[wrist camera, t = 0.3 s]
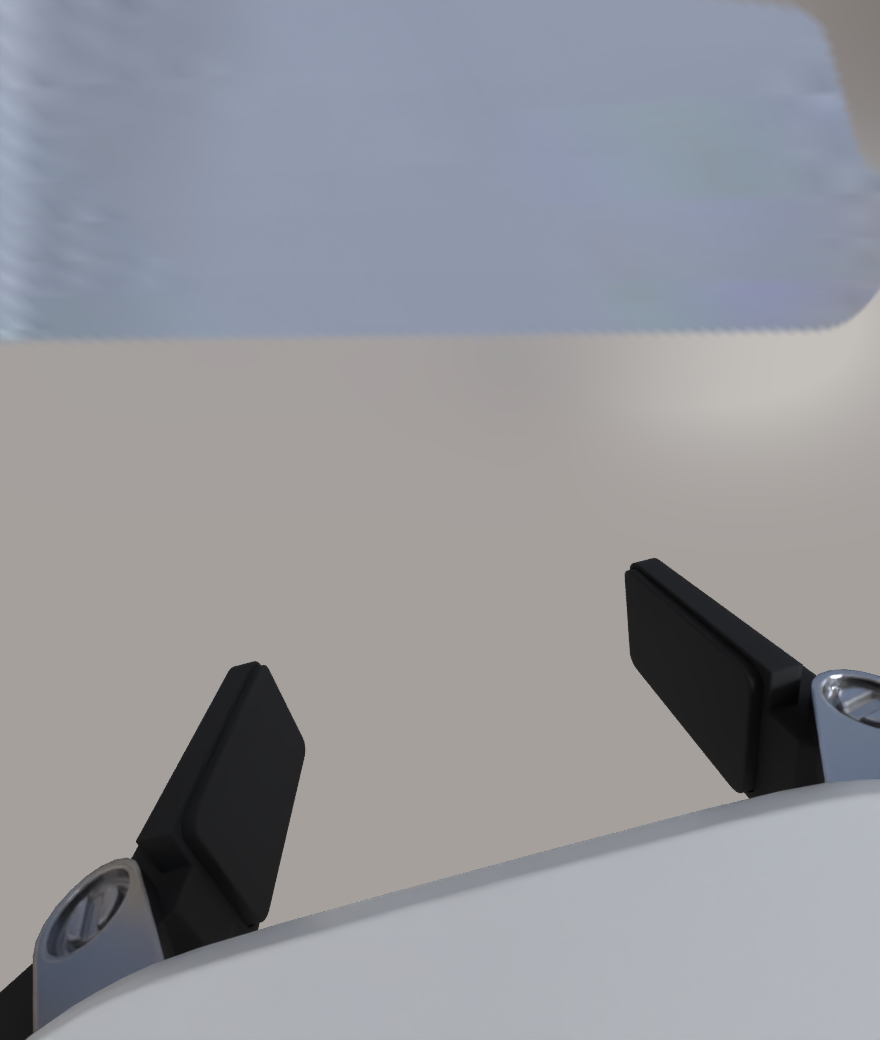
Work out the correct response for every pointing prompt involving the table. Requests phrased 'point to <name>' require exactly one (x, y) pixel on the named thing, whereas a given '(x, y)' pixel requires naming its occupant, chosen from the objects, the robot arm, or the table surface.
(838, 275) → the table surface
